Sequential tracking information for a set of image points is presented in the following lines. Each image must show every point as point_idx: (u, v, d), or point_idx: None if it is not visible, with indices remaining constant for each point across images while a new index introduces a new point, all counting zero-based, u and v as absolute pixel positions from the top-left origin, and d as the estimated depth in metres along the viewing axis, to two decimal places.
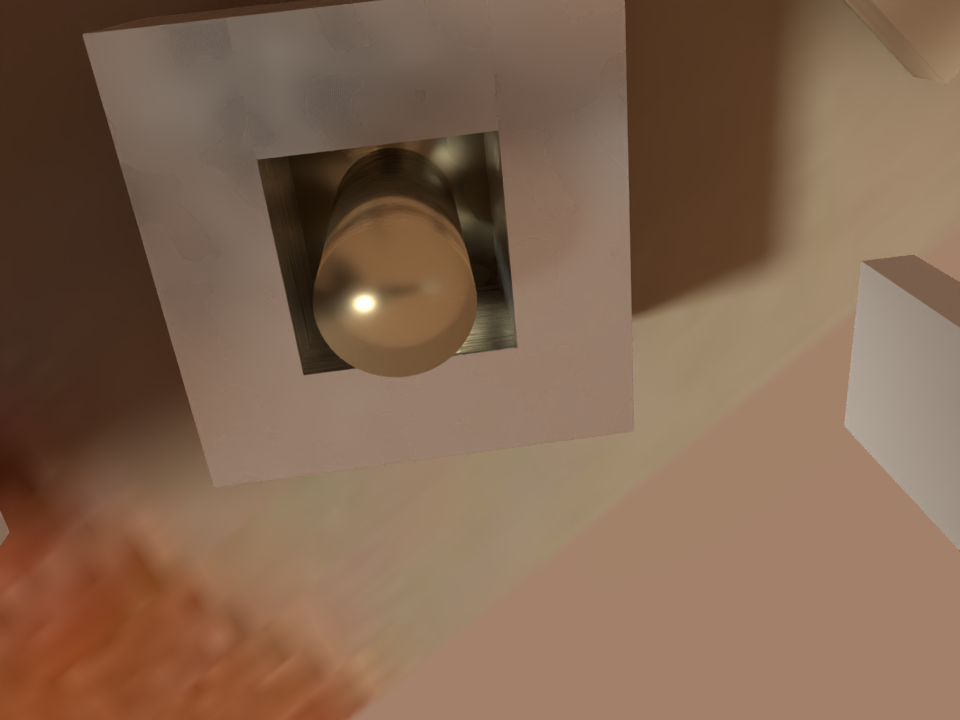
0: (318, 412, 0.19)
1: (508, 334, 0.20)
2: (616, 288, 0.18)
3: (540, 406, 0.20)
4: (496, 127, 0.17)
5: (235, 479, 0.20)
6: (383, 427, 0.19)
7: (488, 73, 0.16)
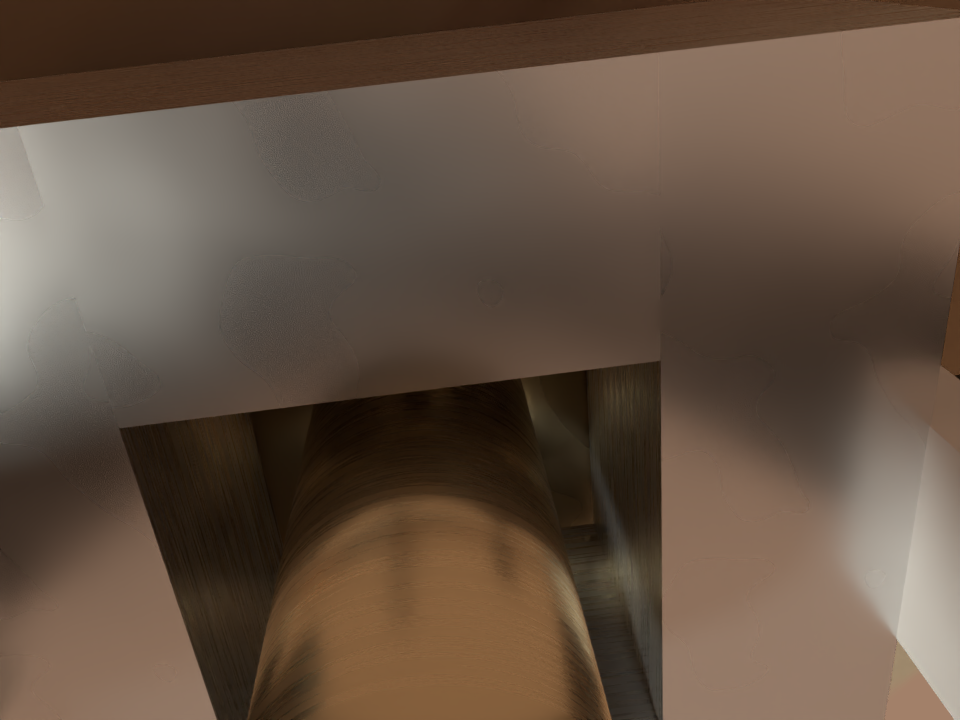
0: None
1: (636, 685, 0.10)
2: (868, 636, 0.09)
3: None
4: (656, 353, 0.07)
5: None
6: None
7: (648, 243, 0.07)
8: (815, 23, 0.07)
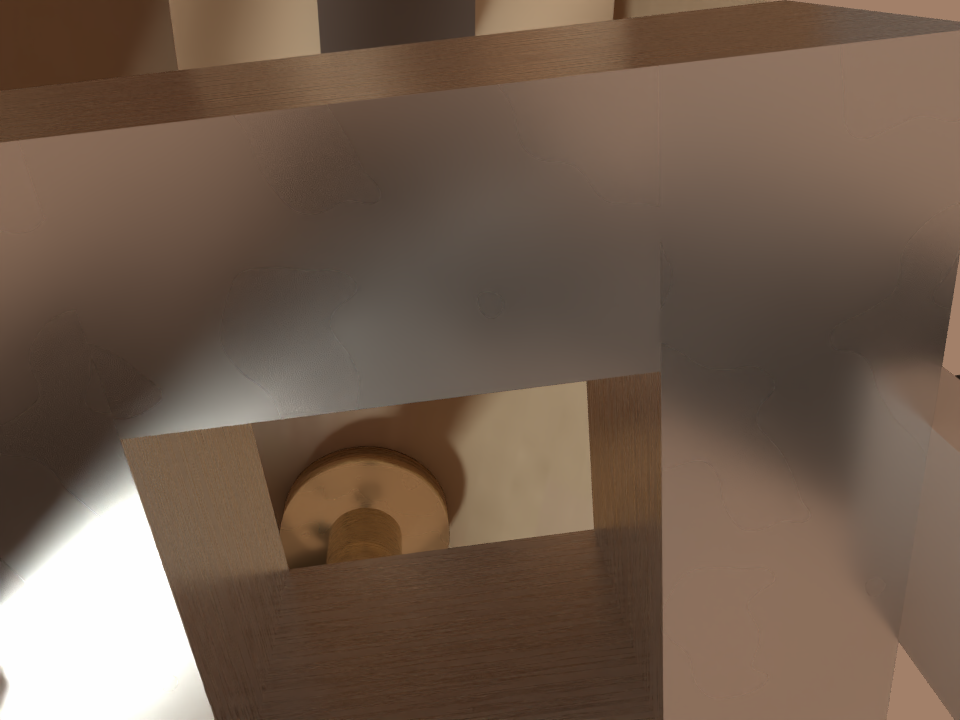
0: None
1: (637, 692, 0.10)
2: (869, 645, 0.09)
3: None
4: (656, 364, 0.07)
5: None
6: None
7: (648, 255, 0.07)
8: (815, 35, 0.07)
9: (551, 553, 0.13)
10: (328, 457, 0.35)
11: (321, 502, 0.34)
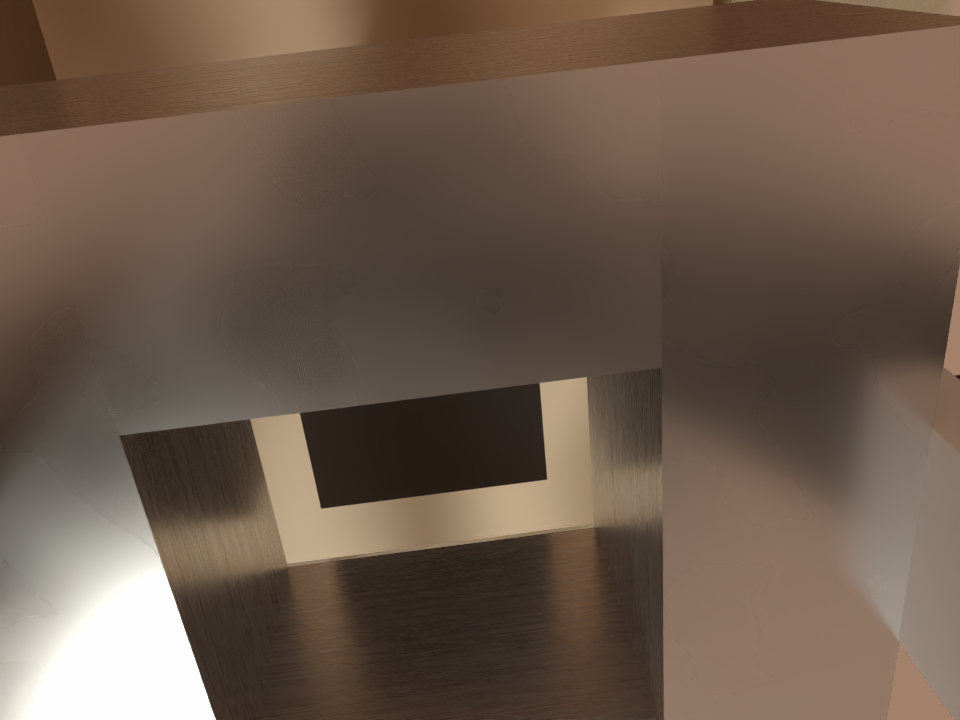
0: None
1: (637, 691, 0.10)
2: (870, 643, 0.09)
3: None
4: (657, 361, 0.07)
5: None
6: None
7: (649, 251, 0.07)
8: (817, 30, 0.07)
9: (551, 551, 0.13)
10: None
11: None
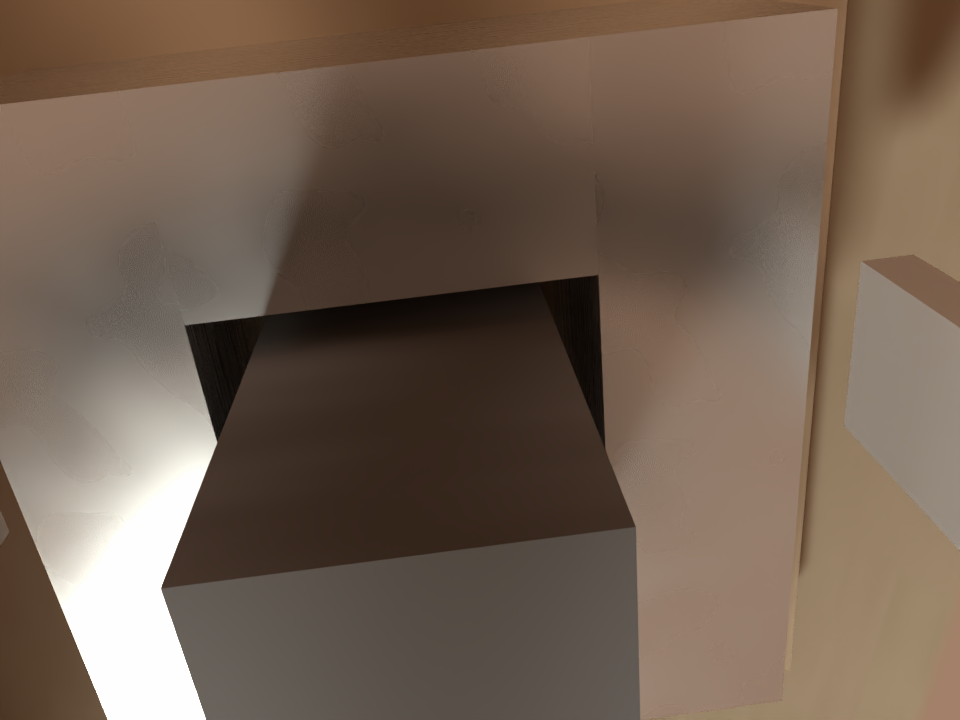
0: None
1: None
2: (774, 508, 0.11)
3: (641, 671, 0.13)
4: (595, 269, 0.10)
5: None
6: None
7: (586, 182, 0.09)
8: (712, 16, 0.09)
9: None
10: None
11: None
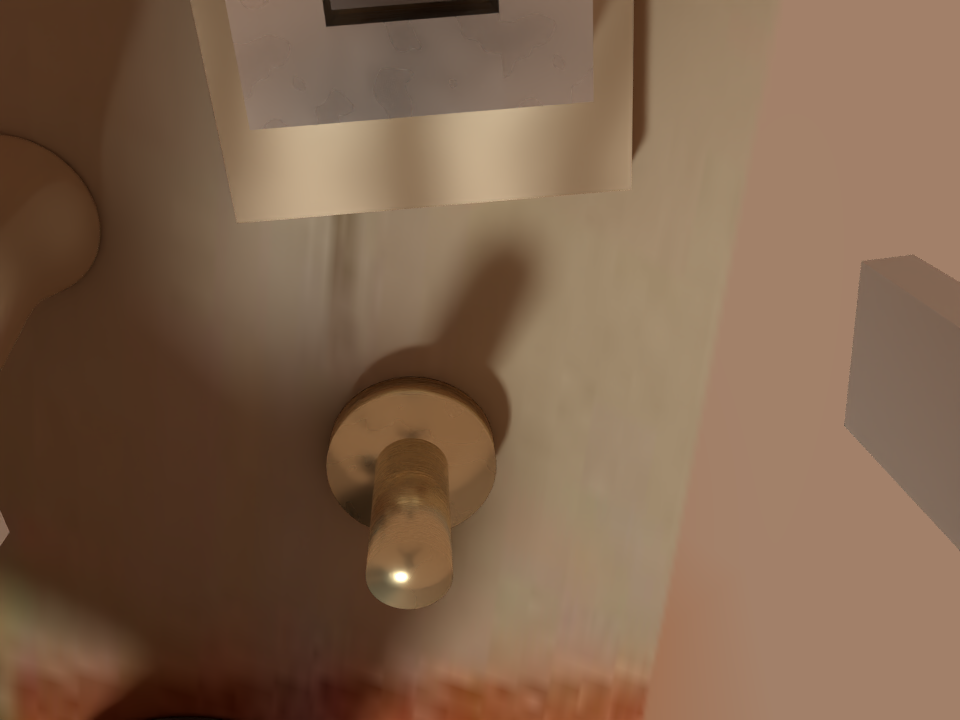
0: (336, 63, 0.24)
1: (493, 11, 0.24)
2: None
3: (517, 71, 0.24)
4: None
5: (267, 123, 0.24)
6: (388, 81, 0.24)
7: None
8: None
9: (467, 4, 0.26)
10: (369, 389, 0.34)
11: (365, 434, 0.34)
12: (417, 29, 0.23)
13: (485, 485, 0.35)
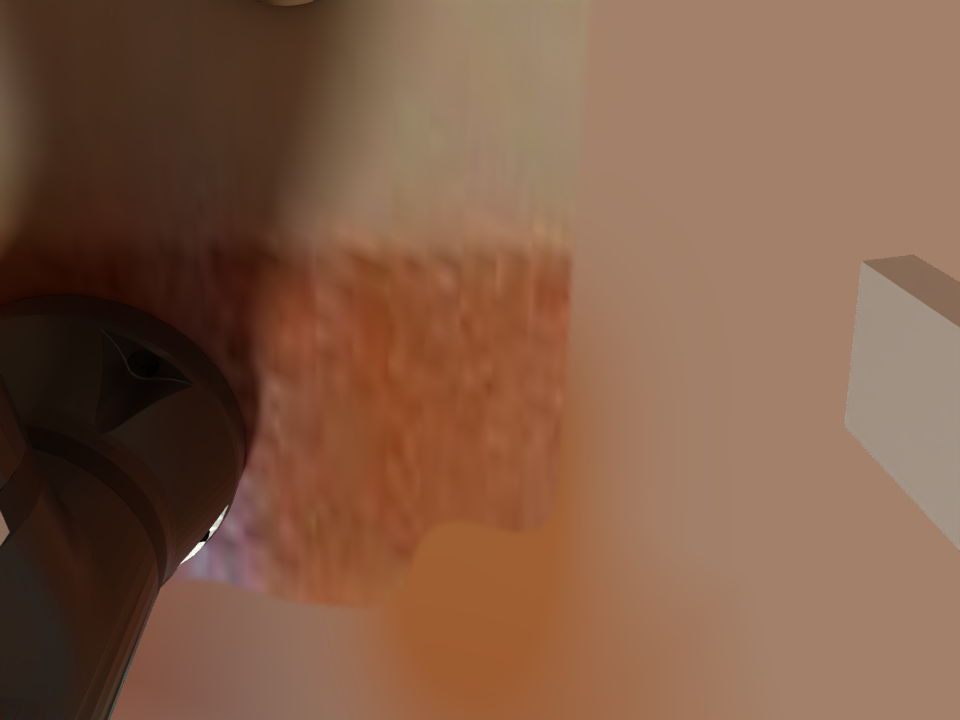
0: None
1: None
2: None
3: None
4: None
5: None
6: None
7: None
8: None
9: None
10: None
11: None
12: None
13: None
